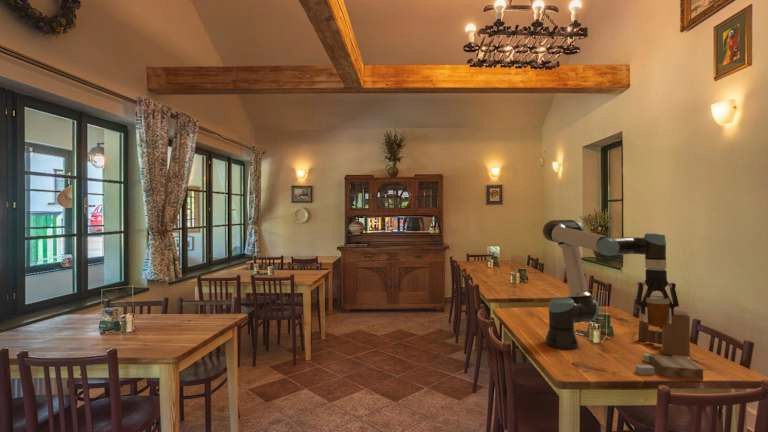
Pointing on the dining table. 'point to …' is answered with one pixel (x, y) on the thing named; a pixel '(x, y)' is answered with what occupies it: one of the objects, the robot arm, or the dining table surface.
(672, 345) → the wooden block
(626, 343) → the dining table surface
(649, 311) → the disposable coffee cup
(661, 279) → the robot arm
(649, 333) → the wooden block set
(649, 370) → the brick bluegrey
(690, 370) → the walnut slab
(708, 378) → the dining table surface
